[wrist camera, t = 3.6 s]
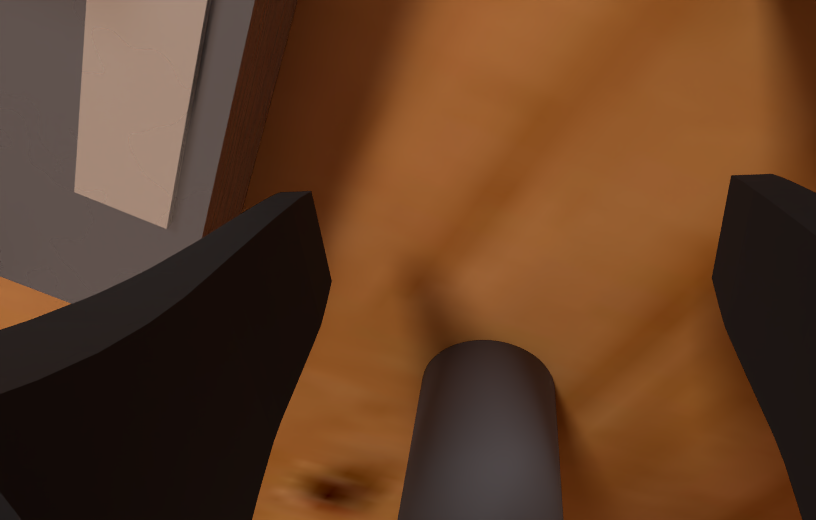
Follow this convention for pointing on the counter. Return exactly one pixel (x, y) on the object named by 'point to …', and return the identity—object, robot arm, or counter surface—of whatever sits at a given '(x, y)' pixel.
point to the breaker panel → (127, 131)
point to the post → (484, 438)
